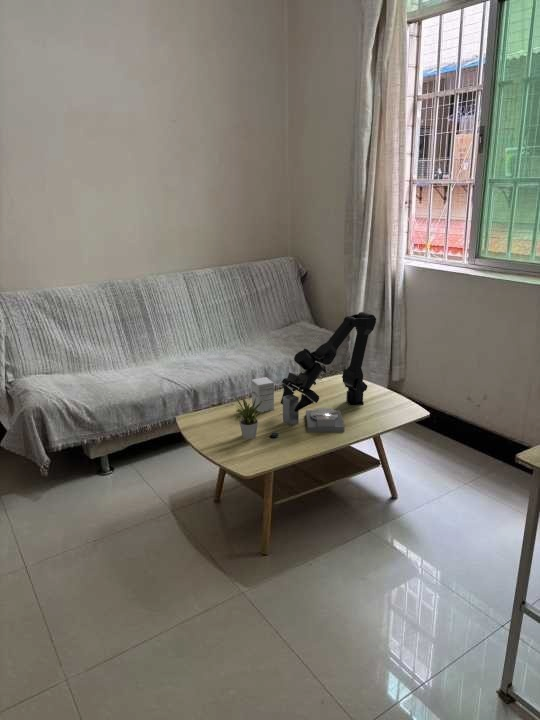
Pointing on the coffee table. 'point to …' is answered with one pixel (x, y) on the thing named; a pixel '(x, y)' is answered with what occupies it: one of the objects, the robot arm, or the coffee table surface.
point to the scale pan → (323, 413)
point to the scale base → (324, 429)
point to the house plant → (248, 419)
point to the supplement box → (263, 394)
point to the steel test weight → (290, 409)
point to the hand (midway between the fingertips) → (288, 407)
